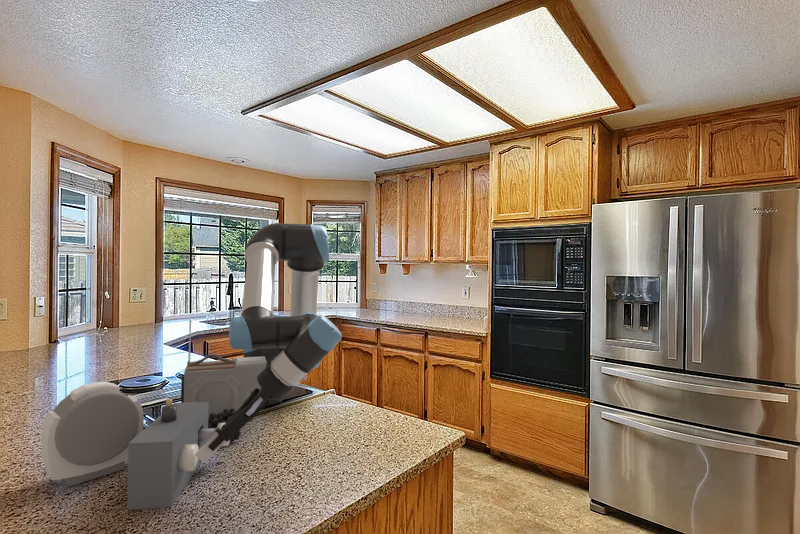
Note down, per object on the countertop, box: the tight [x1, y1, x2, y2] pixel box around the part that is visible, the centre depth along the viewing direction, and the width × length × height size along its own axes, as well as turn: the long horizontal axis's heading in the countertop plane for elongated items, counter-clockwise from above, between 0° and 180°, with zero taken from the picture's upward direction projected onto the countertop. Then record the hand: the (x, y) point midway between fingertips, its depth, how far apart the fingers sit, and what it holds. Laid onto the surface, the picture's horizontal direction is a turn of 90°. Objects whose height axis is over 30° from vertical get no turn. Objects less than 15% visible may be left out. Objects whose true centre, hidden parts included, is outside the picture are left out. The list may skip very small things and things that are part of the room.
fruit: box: [208, 408, 242, 441], centre depth 115 cm, size 9×8×15 cm
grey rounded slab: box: [40, 381, 145, 487], centre depth 96 cm, size 18×8×20 cm, turn 141°
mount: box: [126, 402, 209, 511], centre depth 95 cm, size 24×8×13 cm, turn 9°
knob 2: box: [198, 423, 231, 447], centre depth 102 cm, size 5×7×5 cm
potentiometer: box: [160, 398, 177, 423], centre depth 95 cm, size 3×3×5 cm
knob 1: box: [178, 444, 199, 472], centre depth 89 cm, size 5×7×5 cm
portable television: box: [179, 319, 267, 424], centre depth 131 cm, size 12×24×30 cm, turn 112°
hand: (200, 457), depth 90 cm, fingers closed
